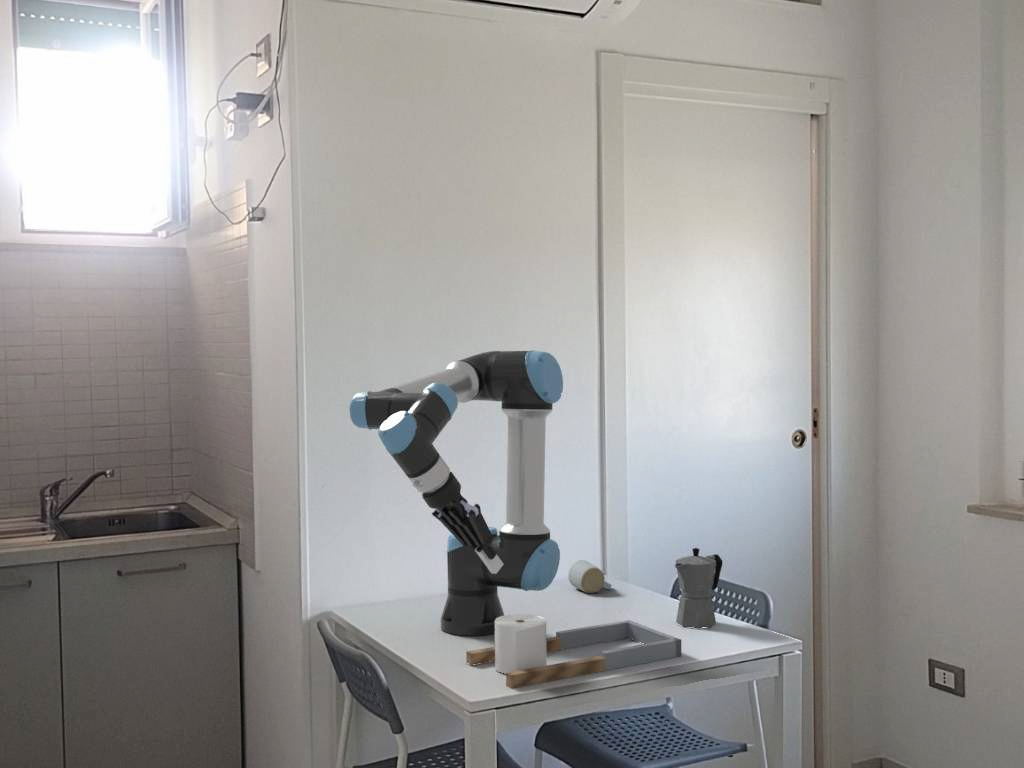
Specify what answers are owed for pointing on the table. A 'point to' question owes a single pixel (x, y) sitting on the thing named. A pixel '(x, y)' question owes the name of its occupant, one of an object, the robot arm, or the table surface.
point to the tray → (651, 650)
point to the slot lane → (541, 672)
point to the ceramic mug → (587, 577)
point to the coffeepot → (697, 589)
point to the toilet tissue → (520, 642)
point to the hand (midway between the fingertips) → (497, 568)
